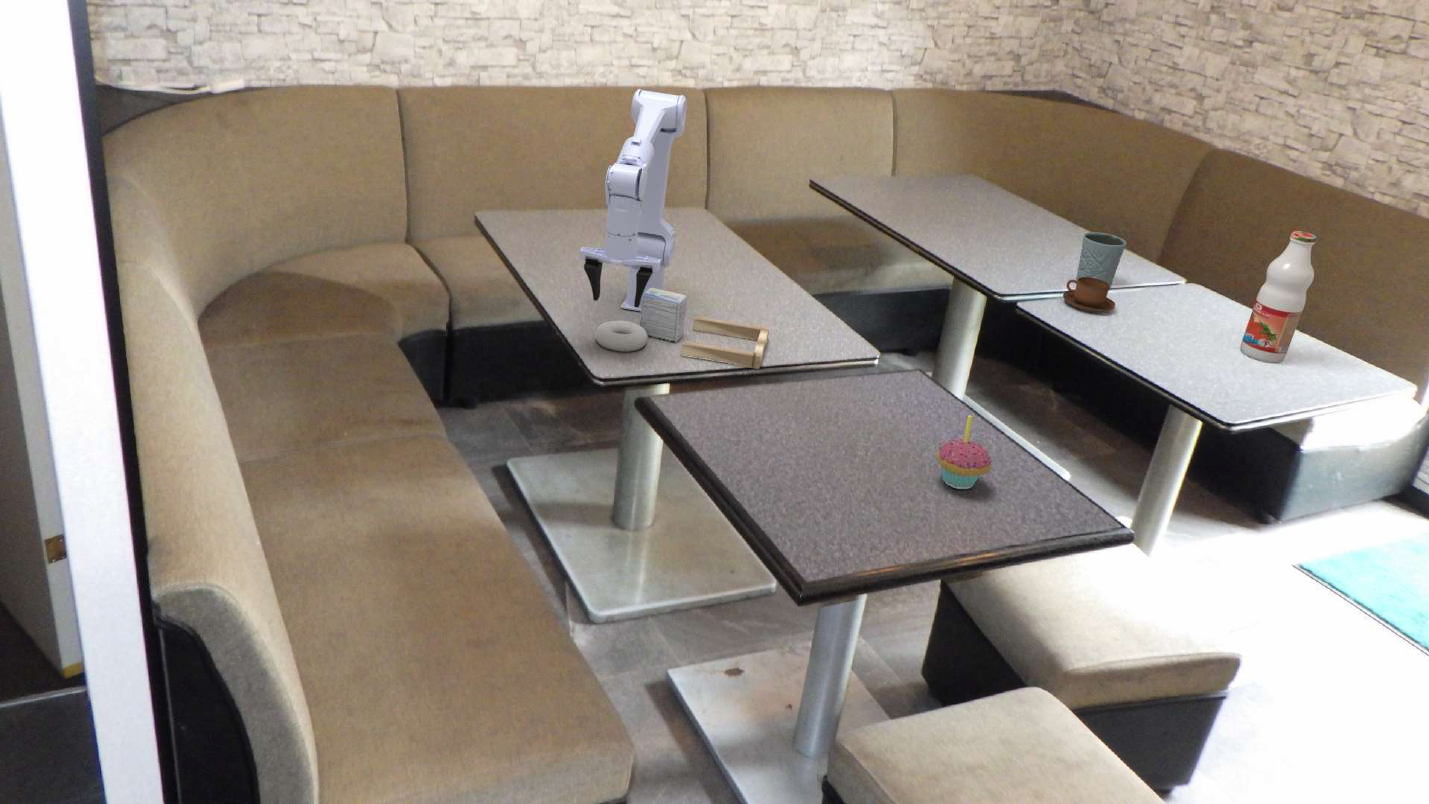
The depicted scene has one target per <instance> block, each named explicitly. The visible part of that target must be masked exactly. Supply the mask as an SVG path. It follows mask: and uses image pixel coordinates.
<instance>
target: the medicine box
mask: <svg viewBox="0 0 1429 804" xmlns="http://www.w3.org/2000/svg"><path fill="white" fill-rule="evenodd" d="M687 300H688V295H686V294H681V293H678V292H674V291H670V290H669V291H668V290H664V289H663V290H660V289H656V288H650V289H648V290H647V291H646V292H644V293H643V294H642V304H641V311H640V315H639V316H640V318H639V325H640V326H641V327H643V328H644V329H645V331H646V333H647V335H649V336H648V337H650V336H652V337H651V338H654V337H655V338H656V339H659V338H661V339H660V340H663V339H665V340H664V341H667V340H668V342H671V341H675V342H674V343H677V342H678V341H679V340H680V339H681V338H682V337H683V336H684V331H685V323H686V321H685V320H686V312H687V311H686V310H687Z"/></svg>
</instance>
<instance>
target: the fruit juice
mask: <svg viewBox="0 0 1429 804" xmlns="http://www.w3.org/2000/svg"><path fill="white" fill-rule="evenodd" d="M1316 242H1317V236H1316V235H1315V234H1312V233H1311V232H1307V231H1301V230H1293V231H1292V232H1291V233H1290V237H1289V244H1288V245H1287V247H1286V248H1285V249H1284V251H1283V252H1282V253H1281V254H1280V255H1279V256H1278V257H1276V258H1275V259H1274V260H1273V261H1271V262H1270V263H1269V265H1268V267H1267V270H1266V280H1265V282H1264V284H1263V285H1262V286H1261V287H1260V289H1259V291H1258V294H1257V296H1256V300H1255V302H1254V304H1253V305H1254V306H1253V308H1252V310H1251V314H1250V316H1249V319H1248V323H1247V325H1246V328H1245V330H1244V333H1243V337H1242V340H1241V342H1240V345H1239V346H1240V348H1239V349H1240V352H1242V353H1243V354H1244V355H1245V356H1247V357H1249V358H1252V359H1253V360H1258V361H1261V362H1265V363H1269V364H1270V363H1272V364H1277V363H1282V362H1283V361H1284V360H1285V359H1286V356H1287V353H1288V351H1289V349H1290V345H1291V343H1292V340H1293V338H1294V335H1295V332H1296V329H1297V328H1298V327H1297V326H1298V324H1299V321H1300V318H1301V316H1302V313H1303V310H1304V308H1305V305H1306V300H1307V290H1309V287H1310V286H1311V285H1312V283H1313V281H1314V279H1315V278H1314V277H1315V271H1314V268H1313V265H1312V262H1311V261H1312V259H1311V256H1312V247H1313V246H1314V245H1315V243H1316Z"/></svg>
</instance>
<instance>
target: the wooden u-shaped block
mask: <svg viewBox="0 0 1429 804" xmlns="http://www.w3.org/2000/svg"><path fill="white" fill-rule="evenodd" d="M693 330H695V332H699V331H700V332H702V333H705V332H708V333H707V334H711V333H714V334H713V335H718V334H719V336H724V335H727V336H726V337H730V336H732V338H736V337H737V338H738V339H742V338H746V339H745V340H748V339H751V340H750V341H754V340H756V341H755V342H756V344H755V348H754V350H753V352H752V351H746V350H741V349H733V348H729V347H728V348H727V347H723V346H722V347H721V346H715V345H709V344H701V343H696V342H691V341H685V340H683V341H682V344H681V353H680V356H681V355H686V356H693V357H697V358H707V359H711V360H714V361H723V362H725V363H728V364H727V365H731V364H734V365H733V366H737V365H739V366H738V367H745V368H751V369H755V370H756V369H757V370H760V367H761V364H762V360H763V357H764V355H765V354H764V353H765V350H766V347H767V344H766V343H768V339H769V333H770V328H769V327H763V326H758V325H757V326H756V325H751V324H745V323H739V322H733V321H726V320H721V319H714V318H709V317H701V316H697V315H696V316H694V319H693V326H692V331H693ZM725 363H724V364H725Z"/></svg>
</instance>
